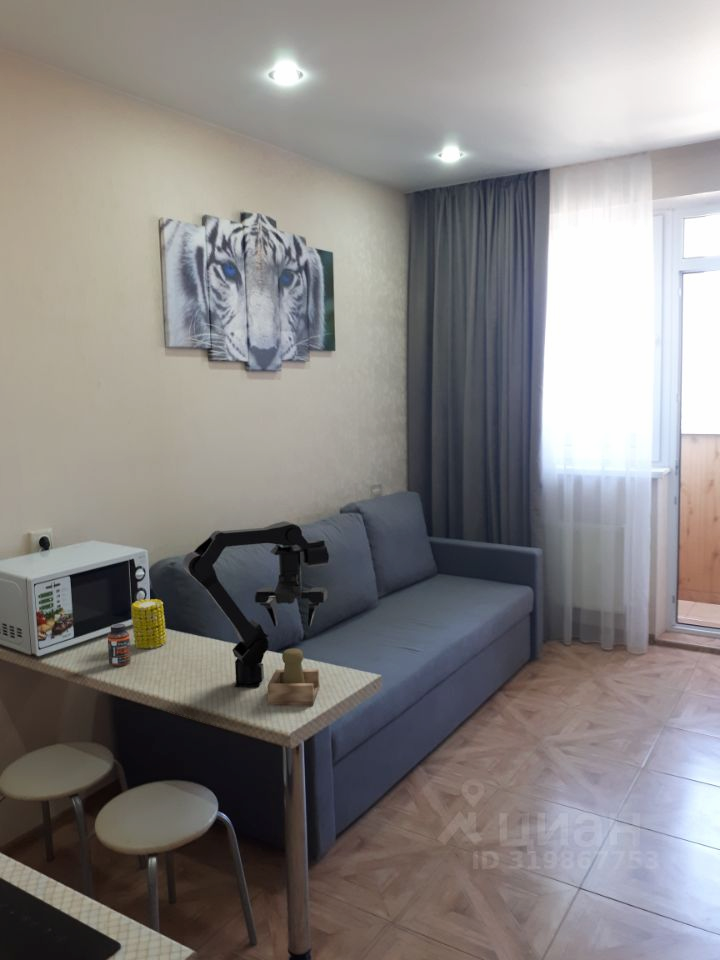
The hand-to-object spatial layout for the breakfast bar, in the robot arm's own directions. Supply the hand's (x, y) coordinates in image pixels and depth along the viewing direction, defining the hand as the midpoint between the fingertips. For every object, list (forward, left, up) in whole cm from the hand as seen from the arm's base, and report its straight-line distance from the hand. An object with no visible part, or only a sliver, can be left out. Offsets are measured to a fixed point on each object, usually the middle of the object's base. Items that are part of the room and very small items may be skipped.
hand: (292, 626), depth 200 cm
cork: (+2, -16, -13) cm, 20 cm away
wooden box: (+2, -16, -13) cm, 20 cm away
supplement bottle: (-52, +8, -13) cm, 54 cm away
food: (-49, +24, -13) cm, 56 cm away
